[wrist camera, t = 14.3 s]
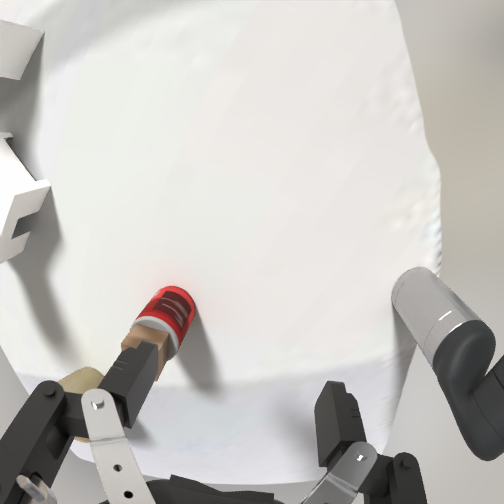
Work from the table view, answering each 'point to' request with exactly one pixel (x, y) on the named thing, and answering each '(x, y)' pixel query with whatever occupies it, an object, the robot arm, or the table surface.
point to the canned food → (169, 315)
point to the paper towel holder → (16, 199)
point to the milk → (16, 48)
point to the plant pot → (82, 385)
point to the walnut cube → (151, 336)
